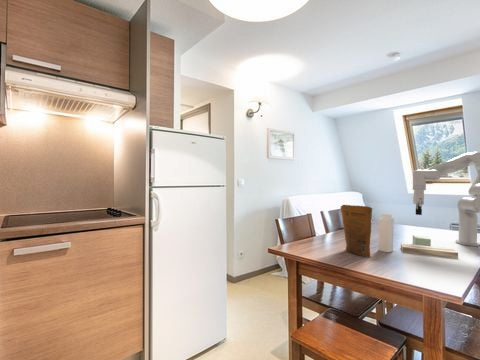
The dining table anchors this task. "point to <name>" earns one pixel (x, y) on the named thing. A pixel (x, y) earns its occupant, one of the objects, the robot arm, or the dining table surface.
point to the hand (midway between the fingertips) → (418, 214)
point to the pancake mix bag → (357, 229)
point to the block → (421, 240)
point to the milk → (386, 233)
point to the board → (429, 250)
